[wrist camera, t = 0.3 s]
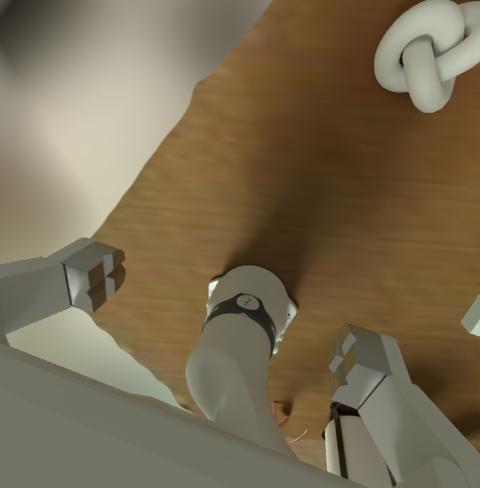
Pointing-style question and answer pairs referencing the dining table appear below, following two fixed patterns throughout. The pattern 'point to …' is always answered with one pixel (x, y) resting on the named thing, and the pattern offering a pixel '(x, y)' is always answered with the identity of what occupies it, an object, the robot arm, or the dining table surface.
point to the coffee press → (355, 452)
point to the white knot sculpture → (429, 51)
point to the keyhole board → (473, 318)
